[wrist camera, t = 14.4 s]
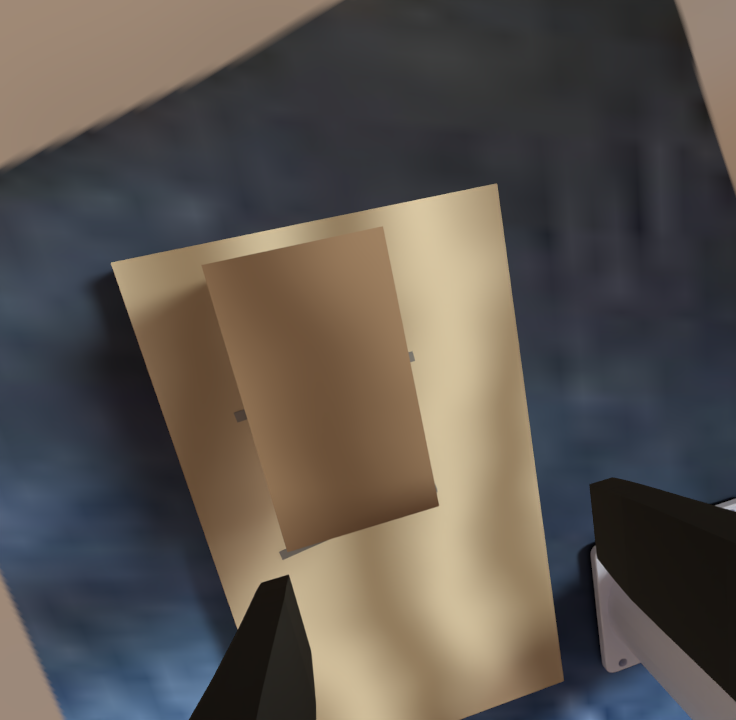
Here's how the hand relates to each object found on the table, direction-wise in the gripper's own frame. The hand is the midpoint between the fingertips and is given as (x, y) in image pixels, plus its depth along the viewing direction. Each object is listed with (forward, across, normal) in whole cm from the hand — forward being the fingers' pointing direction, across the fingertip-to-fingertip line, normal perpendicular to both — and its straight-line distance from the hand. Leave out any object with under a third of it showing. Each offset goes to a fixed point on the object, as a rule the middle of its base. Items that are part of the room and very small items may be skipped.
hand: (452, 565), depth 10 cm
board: (+9, +1, +3) cm, 10 cm away
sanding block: (+8, +2, -4) cm, 9 cm away
